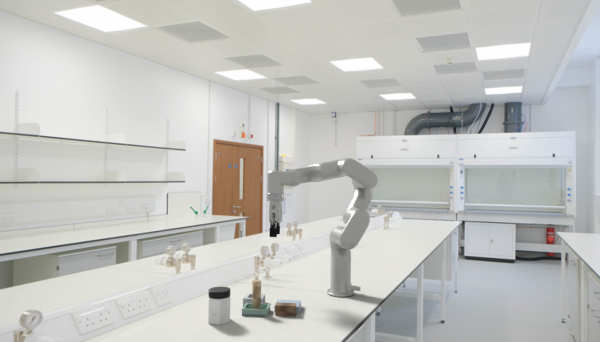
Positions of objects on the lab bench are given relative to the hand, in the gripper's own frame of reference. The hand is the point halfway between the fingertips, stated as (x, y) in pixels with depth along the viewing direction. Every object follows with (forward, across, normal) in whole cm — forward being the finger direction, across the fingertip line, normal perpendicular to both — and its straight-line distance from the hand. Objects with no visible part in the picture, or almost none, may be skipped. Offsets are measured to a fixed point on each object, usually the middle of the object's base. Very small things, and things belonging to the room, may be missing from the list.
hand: (274, 235), depth 186 cm
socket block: (+28, -10, +7) cm, 31 cm away
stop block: (+28, -21, -8) cm, 36 cm away
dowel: (+28, -20, +4) cm, 35 cm away
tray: (+28, -20, +4) cm, 35 cm away
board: (+29, -14, -8) cm, 33 cm away
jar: (+28, -32, +16) cm, 46 cm away
